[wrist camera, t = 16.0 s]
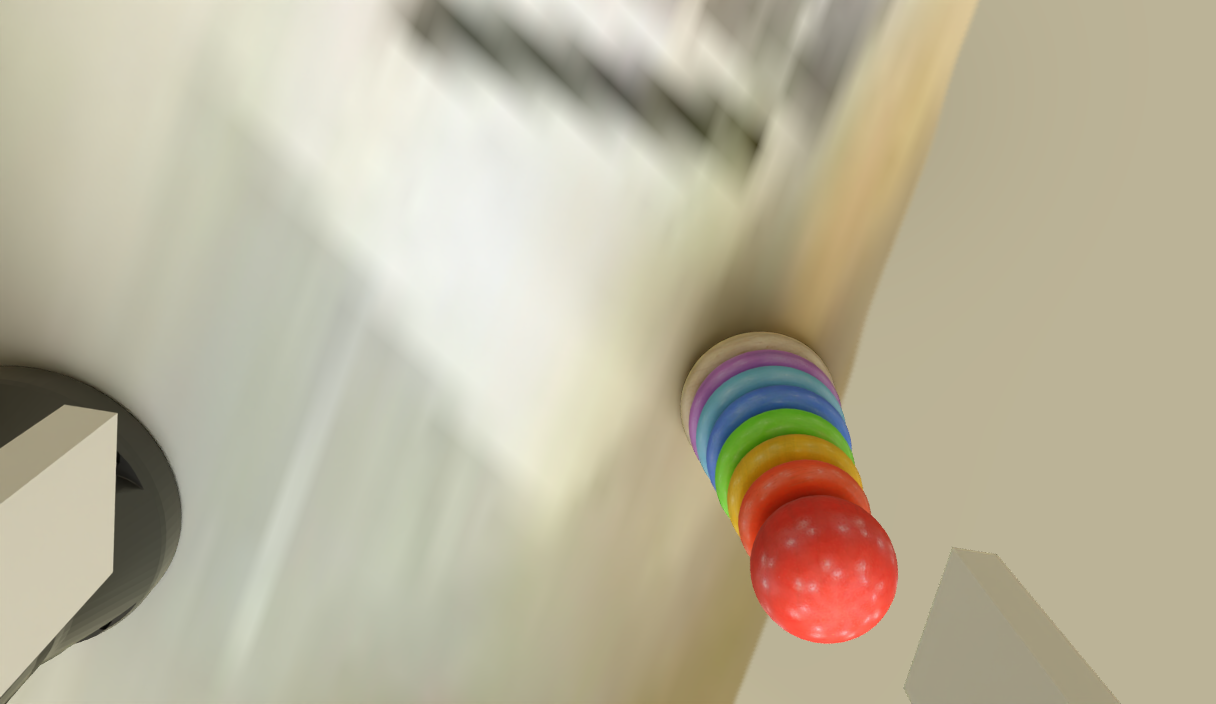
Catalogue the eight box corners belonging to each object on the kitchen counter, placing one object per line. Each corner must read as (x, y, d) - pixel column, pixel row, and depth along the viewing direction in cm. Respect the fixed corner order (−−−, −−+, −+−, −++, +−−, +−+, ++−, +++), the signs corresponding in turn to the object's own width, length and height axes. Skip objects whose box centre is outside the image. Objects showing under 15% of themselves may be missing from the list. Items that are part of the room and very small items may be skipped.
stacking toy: (776, 295, 46) (897, 450, 28) (859, 414, 48) (1020, 628, 30) (648, 384, 47) (686, 586, 29) (734, 495, 49) (818, 746, 31)
